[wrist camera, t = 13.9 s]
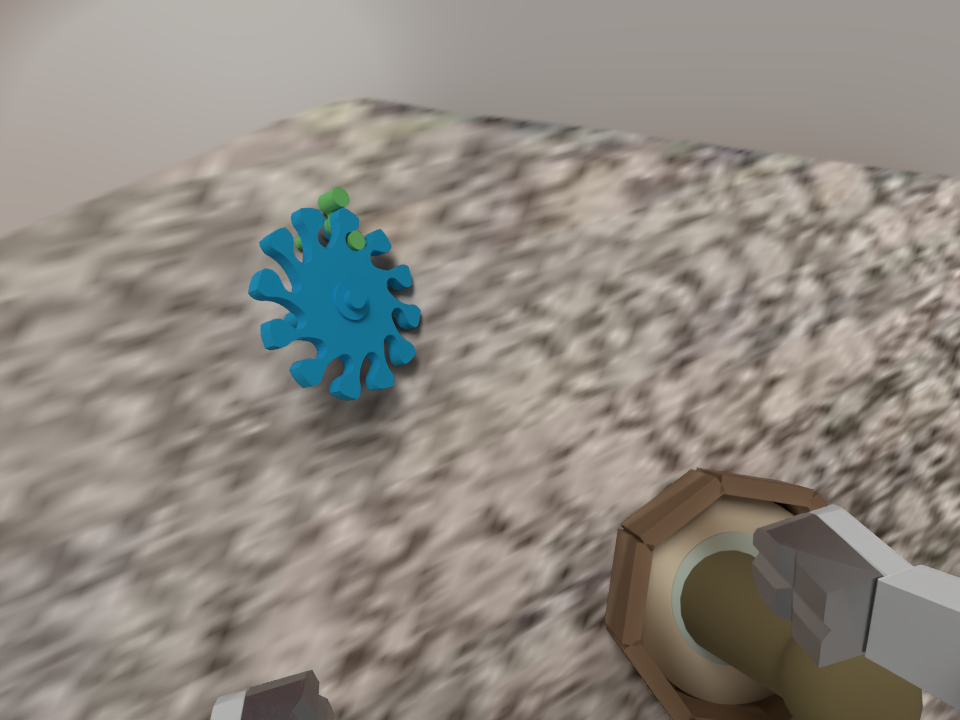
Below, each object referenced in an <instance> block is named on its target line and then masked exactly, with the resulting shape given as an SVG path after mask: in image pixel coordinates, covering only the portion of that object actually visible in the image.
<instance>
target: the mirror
mask: <svg viewBox="0 0 960 720" xmlns="http://www.w3.org/2000/svg"><path fill="white" fill-rule="evenodd" d="M771 501H773V502H779V503H780V504H781V506H782V507H781V506H779V505H777V504H775V503H773V502H771ZM826 506H828V505H827V504H826V502H825V501H824V499H823V498H822V497H821V495H820V494H819V493H817V492H814V490H813V489H809V488H806V487H802V486H798V485H794V484H790V483H786V482H782V481H777V480H771V479H765V478H758V477H752V476H746V475H740V474H733V473H727V472H721V471H714V470H708V469H702V468H697V471H695V470H692V469H691V470H690V471H688V472H687V473H686V474H685V475H683V476H682V477H681V478H679V479H678V480H677V481H676V482H674V483H673V484H672V485H670V486H669V487H668V488H667V489H665V490H664V491H663V492H661V493H660V494H659V495H657V496H656V497H655V498H654V499H652V500H651V501H650V502H648V503H647V504H646V505H645V506H643V507H642V508H641V509H639V510H638V511H637V512H636V513H634V514H633V515H632V516H630V517H629V518H628V519H627V520H625V521H624V522H623V523H621V524H622V525H623V527H624V528H625V530H621V529H618V533H617V539H616V546H615V553H614V560H613V567H612V574H611V581H610V587H609V594H608V601H607V608H606V615H605V623H606V624H607V625H608V626H607V627H606V628H607V629H608V631H609V632H610V634H611V635H612V636H613V638H614V639H615V641H616V642H617V643H618V645H619V646H620V648H621V649H622V650H623V652H624V653H625V655H626V656H627V658H628V659H629V660H630V662H631V663H632V665H633V666H634V667H635V669H636V670H637V672H638V673H639V674H640V676H641V677H642V679H643V680H644V681H645V683H646V684H647V686H648V687H649V688H650V690H651V691H652V693H653V694H654V695H655V697H656V698H657V700H658V701H659V702H660V704H661V705H662V706H663V708H664V709H665V710H666V712H667V713H668V714H669V716H670V717H671V718H672V720H795V719H794V717H793V716H792V715H791V713H790V711H789V710H788V708H787V706H786V705H785V702H784V699H783V698H782V697H781V696H779V695H777V694H776V693H774V692H772V691H771V690H769V689H768V688H766V687H764V686H763V685H761V684H760V683H758V682H756V681H755V680H753V679H752V678H750V677H748V676H747V675H745V674H743V673H742V672H740V671H739V670H737V669H735V668H734V667H732V666H731V665H729V664H727V663H726V662H724V661H723V660H721V659H719V658H718V657H716V656H714V655H713V654H711V653H710V652H708V651H707V650H705V649H704V648H702V647H701V646H699V645H698V644H696V642H695V641H694V640H693V638H692V637H691V636H690V634H689V633H688V632H687V631H686V628H685V625H684V622H683V619H682V617H681V607H680V596H681V592H682V589H683V585H684V581H685V580H686V578H687V576H688V575H689V573H690V572H691V570H692V568H693V567H694V566H695V565H697V564H698V563H699V562H700V561H701V560H702V559H704V558H705V557H707V556H709V555H711V554H714V553H716V552H719V551H730V550H737V551H740V552H744V553H747V554H751V555H752V556H754V557H755V558H756V556H757V555H758V553H759V551H758V550H757V549H756V548H755V546H754V545H753V534H754V532H755V531H756V529H757V528H760V527H763V526H766V525H769V524H772V523H775V522H778V521H781V520H784V519H787V518H790V517H793V516H796V515H799V514H802V513H807V512H810V511H813V510H816V509H820V508H823V507H826ZM666 678H667V679H668V680H669V681H670V682H671V683H673V684H674V685H675V686H677V687H678V688H680V689H674V688H673V687H672V686H671V684H670V683H669V682H668V680H667V679H666Z"/></svg>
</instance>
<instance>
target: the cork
mask: <svg viewBox="0 0 960 720" xmlns="http://www.w3.org/2000/svg"><path fill="white" fill-rule="evenodd" d="M754 559H755V557H754V556H752V555H751V554H747V553H744V552H740V551H737V550H730V551H719V552H716V553H714V554H711V555H709V556H707V557H705V558H704V559H702V560H701V561H700V562H699V563H698V564H697V565H695V566H694V567H693V568H692V570H691V572H690V573H689V575H688V576H687V578H686V580H685V581H684V585H683V589H682V592H681V596H680V607H681V617H682V619H683V622H684V625H685V628H686V631H687V632H688V633H689V634H690V636H691V637H692V638H693V640H694V641H695V642H696V644H698V645H699V646H701V647H702V648H704V649H705V650H707V651H708V652H710V653H711V654H713V655H714V656H716V657H718V658H719V659H721V660H723V661H724V662H726V663H727V664H729V665H731V666H732V667H734V668H735V669H737V670H739V671H740V672H742V673H743V674H745V675H747V676H748V677H750V678H752V679H753V680H755V681H756V682H758V683H760V684H761V685H763V686H764V687H766V688H768V689H769V690H771V691H772V692H774V693H776V694H777V695H779V696H781V697H782V698H783V699H784V702H785V705H786V706H787V708H788V710H789V711H790V713H791V715H792V716H793V717H794V719H795V720H920V717H921V713H922V708H923V705H922V689H921V688H919V687H917V686H916V685H914V684H912V683H910V682H908V681H907V680H905V679H903V678H901V677H900V676H898V675H896V674H894V673H893V672H891V671H889V670H887V669H886V668H884V667H882V666H880V665H879V664H877V663H875V662H873V661H872V660H870V659H868V658H866V657H865V654H863V655H859V656H856V657H853V658H850V659H847V660H843V661H840V662H837V663H834V664H830V665H827V666H824V667H821V668H818V667H817V666H816V664H815V663H814V662H813V661H812V660H811V658H810V657H809V656H808V655H807V654H806V652H805V651H804V650H803V649H802V648H801V646H800V645H799V644H798V643H797V642H796V640H795V639H794V638H793V637H792V635H791V622H790V621H788V620H785V619H783V618H781V617H779V616H777V615H775V614H773V612H772V611H771V610H770V608H769V607H768V606H767V605H766V603H765V602H764V600H763V599H762V597H761V595H760V594H759V592H758V590H757V587H756V584H755V581H754V579H753V571H752V562H753V561H754Z"/></svg>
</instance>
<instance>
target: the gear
mask: <svg viewBox="0 0 960 720" xmlns="http://www.w3.org/2000/svg"><path fill="white" fill-rule="evenodd" d="M348 204H349V196H348V194H347V192H346V191H345V190H344V189H343V188H341V187H336V188H334V189H333V190H331V191H329V192H327V193H326V194H324V195H322V196H320V197H319V199H318V205H319V208H320V209H321V211H322V212H323V213H324V214H322V213H321V212H320V210H317V209H314V208H301V209H299V210H297V211H296V212H294V213H292V215H291V221H292V224H293V226H294V228H295V229H296V231H297V233H298V235H299V237H297V238H296V239H295V245H296V247H297V248H298V249H301V250H302V249H303V263H302V262H300V261H298V260H297V258H296V257H295V255H294V241H293V237H292V235H291V233H290V232H289V231H288V230H287V229H286V228H285V227H284V228H280V229H278V230H276V231H274V232H272V233H271V234H269V235H267V236H266V237H264V238H263V239H262V240H261V241H260V242H259V244H260V247H261V249H262V251H263V252H264V253H265V254H266V255H268V256H270V257H271V258H273V259H274V260H275V261H277V262H278V263H279V264H280V266H281V267H282V268H283V269H284V271H285V272H286V274H287V276H288V278H289V280H290V282H291V285H292V292H291V293H290V292H288V291H287V290H286V289H285V288H284V286H283V284H282V282H281V280H280V278H279V276H278V275H277V274H276V273H275V272H274V271H273V270H271V269H266V268H265V269H263V270H261V271H259V272H257V273H255V274H254V276H253V277H252V279H251V282H250V286H249V291H248V294H249V295H250V296H251V297H252V298H254V299H256V300H259V301H272V302H275V303H278V304H280V305H282V306H283V307H285V308H286V309H288V310H289V311H290V313H288V314H286V316H285V318H284V320H282V319H274V320H271V321H269V322H266V323H263V324H262V325H261V337H262V341H263V344H264V347H265V349H268V350H275V349H279V348H282V347H285V346H287V345H288V344H290V343H291V342H292V341H294V340H303V341H309V342H311V343H313V344H314V345H315V347H316V349H317V357H316V359H311V358H308V359H305V360H301V361H297V362H295V363H293V364H292V366H291V367H290V373H291V375H292V376H293V378H294V379H295V380H296V382H297V383H298V384H299V385H300V386H301V387H302V388H306V387H310V386H315V385H317V384H319V383H320V381H321V380H322V377H323V373H324V371H325V369H326V367H327V366H328V364H329V363H330V362H331V361H332V360H333V359H335V358H336V357H339V358H340V359H341V360H342V361H343V363H344V372H343V373H342V375H340V376H339V377H337V378H335V379H334V380H333V381H332V382H331V384H330V393H331V394H332V395H333V396H335V397H336V398H339V399H342V400H346V401H348V400H354V399H358V397H359V396H360V393H361V386H360V377H359V376H360V368H361V365H362V362H363V360H364V358H365V356H367V357H368V359H369V361H370V369H369V371H368V373H367V376H366V380H365V382H366V386H367V388H368V390H372V391H373V390H379V389H385V388H389V387H391V386H393V385H394V376H393V374H392V372H391V371H390V369H389V367H388V365H387V362H386V359H385V355H384V339H385V340H386V341H387V343H388V347H389V359H390V361H391V363H392V364H393V365H395V366H399V365H404V364H407V363H408V362H409V361H411V359H412V358H413V357H414V355H415V353H416V351H415V348H414V346H413V345H412V344H411V343H410V342H408V341H406V340H405V339H404V338H403V337H402V336H401V335H400V334H399V332H398V331H397V329H396V327H395V324H394V322H393V320H392V313H393V314H394V316H395V318H396V321H397V323H398V325H399V326H400V327H401V328H402V329H405V330H408V329H411V328H415V327H417V326H418V324H419V320H420V312H421V310H420V309H419V308H418V307H417V306H416V305H408V304H404V303H402V302H400V301H398V300H397V299H396V298H395V297H394V296H393V295H392V294H391V293H390V292H389V291H388V289H387V283H388V284H389V285H390V286H391V287H392V288H393V289H395V290H401V289H404V288H407V287H410V286H411V285H412V279H411V274H410V270H409V267H408V266H407V265H400V266H397V267H395V268H392V269H390V270H389V271H387V270H382V269H379V268H376V267H375V266H374V265H373V264H372V262H371V259H370V255H372V256H379V255H381V254H384V253H386V252H388V251H389V250H390V249H391V244H390V242H389V240H388V238H387V237H386V235H385V234H384V233H383V231H382V230H381V229H378V230H376V231H374V232H371V233H369V234H367V235H366V236H365V238H364V236H363V235H362V234H361V233H360V232H359V231H355V230H356V229H357V228H358V227H359V219H358V218H357V216H356V215H354V214H353V213H352V212H350V211H349V210H347V209H345V208H344V207H345V206H347V205H348Z"/></svg>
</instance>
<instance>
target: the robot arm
mask: <svg viewBox="0 0 960 720" xmlns="http://www.w3.org/2000/svg"><path fill="white" fill-rule="evenodd" d="M753 545H754V546H755V548H756V549H757V550H758V551H759V553H758V555H757V556H756V558H755V559H754V561H753V562H752V571H753V579H754V581H755V584H756V587H757V590H758V592H759V594H760V595H761V597H762V599H763V600H764V602H765V603H766V605H767V606H768V607H769V608H770V610H771V611H772V612H773V614H775V615H777V616H779V617H781V618H783V619H785V620H788V621H790V622H791V635H792V637H793V638H794V639H795V640H796V642H797V643H798V644H799V645H800V646H801V648H802V649H803V650H804V651H805V652H806V654H807V655H808V656H809V657H810V658H811V660H812V661H813V662H814V663H815V664H816V666H817V667H818V668H821V667H824V666H827V665H830V664H834V663H837V662H840V661H843V660H847V659H850V658H853V657H856V656H859V655H863V654H865V657H866V658H868V659H870V660H872V661H873V662H875V663H877V664H879V665H880V666H882V667H884V668H886V669H887V670H889V671H891V672H893V673H894V674H896V675H898V676H900V677H901V678H903V679H905V680H907V681H908V682H910V683H912V684H914V685H916V686H917V687H919V688H921V689H923V690H924V691H926V692H928V693H930V694H931V695H933V696H935V697H937V698H938V699H940V700H942V701H944V702H945V703H947V704H949V705H951V706H952V707H954V708H956V709H958V710H959V711H960V578H959V577H956V576H953V575H950V574H947V573H944V572H942V571H939V570H936V569H933V568H930V567H927V566H924V565H918V566H915V567H913V566H912V565H911V564H910V563H908V562H907V561H906V560H905V559H904V558H902V557H901V556H900V555H899V554H898V553H896V552H895V551H894V550H893V549H891V548H890V547H889V546H888V545H887V544H885V543H884V542H883V541H882V540H880V539H879V538H878V537H877V536H876V535H874V534H873V533H872V532H871V531H870V530H868V529H867V528H866V527H865V526H863V525H862V524H861V523H860V522H859V521H857V520H856V519H855V518H854V517H853V516H851V515H850V514H849V513H848V512H846V511H845V510H844V509H843V508H841V507H839V506H837V505H834V504H832V505H829V506H826V507H823V508H820V509H816V510H813V511H810V512H807V513H802V514H799V515H796V516H793V517H790V518H787V519H784V520H781V521H778V522H775V523H772V524H769V525H766V526H763V527H760V528H757V529H756V531H755V532H754V534H753ZM210 720H335V717H334V713H333V710H332V707H331V705H330V703H329V701H328V699H327V698H325V697H322V696H320V695H319V681H318V679H317V677H316V676H315V674H314V672H313V670H310V671H306V672H302V673H299V674H295V675H292V676H288V677H285V678H281V679H278V680H274V681H271V682H267V683H264V684H260V685H257V686H253V687H250V688H247V689H244V690H240V691H237V692H234V693H230V694H227V695H224V696H220V697H219V698H218V700H217V702H216V704H215V705H214V707H213V710H212V714H211V718H210Z"/></svg>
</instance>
